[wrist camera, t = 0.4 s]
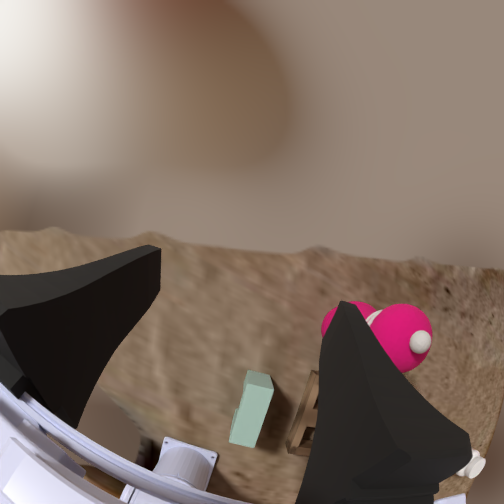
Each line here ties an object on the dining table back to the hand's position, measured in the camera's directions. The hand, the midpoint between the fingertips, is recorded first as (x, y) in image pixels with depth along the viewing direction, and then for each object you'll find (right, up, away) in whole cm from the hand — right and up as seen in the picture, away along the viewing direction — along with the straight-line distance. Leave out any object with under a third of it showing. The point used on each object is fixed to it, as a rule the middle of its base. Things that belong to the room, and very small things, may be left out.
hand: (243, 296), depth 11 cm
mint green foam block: (0, -18, +23) cm, 30 cm away
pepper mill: (+13, -9, +25) cm, 30 cm away
